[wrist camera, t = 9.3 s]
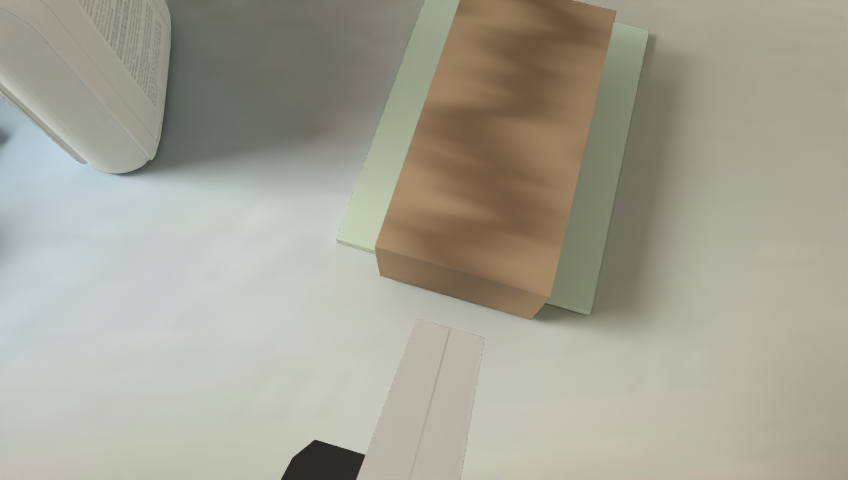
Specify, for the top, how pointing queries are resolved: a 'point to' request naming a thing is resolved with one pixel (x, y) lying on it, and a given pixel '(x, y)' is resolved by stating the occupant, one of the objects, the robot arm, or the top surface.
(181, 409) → the top surface
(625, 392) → the top surface
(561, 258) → the mat
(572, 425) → the top surface
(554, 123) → the walnut block
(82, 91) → the photo printer
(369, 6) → the top surface
